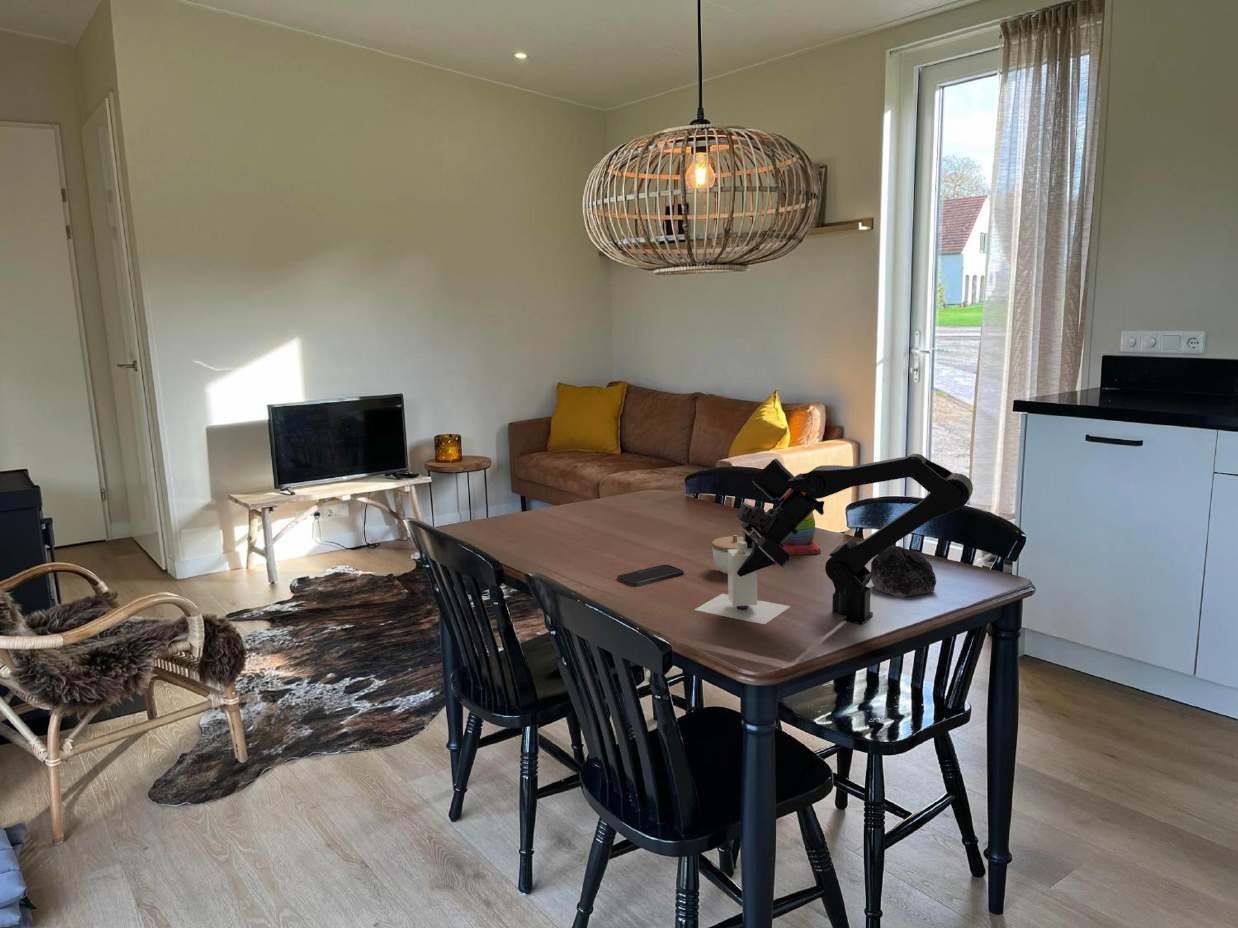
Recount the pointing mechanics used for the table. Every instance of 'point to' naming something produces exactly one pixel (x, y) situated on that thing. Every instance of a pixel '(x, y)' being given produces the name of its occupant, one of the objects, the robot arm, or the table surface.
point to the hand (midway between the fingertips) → (735, 571)
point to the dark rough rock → (902, 572)
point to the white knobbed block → (741, 578)
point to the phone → (650, 575)
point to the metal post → (742, 607)
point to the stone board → (753, 614)
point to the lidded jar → (724, 550)
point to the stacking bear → (802, 537)
